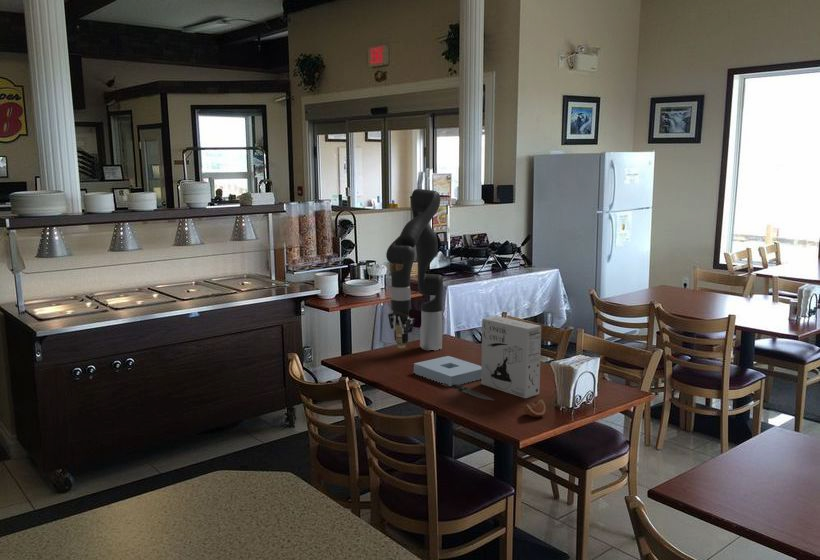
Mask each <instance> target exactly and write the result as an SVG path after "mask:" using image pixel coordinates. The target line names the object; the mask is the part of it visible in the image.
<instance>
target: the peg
mask: <svg viewBox="0 0 820 560" xmlns="http://www.w3.org/2000/svg"><path fill="white" fill-rule="evenodd" d="M404 325H406V324H404ZM404 325H403V326H404ZM405 329H406V327H405V328H404V330H405ZM395 343H396V348H397V349H399V350H400V349H403V350H404V349H405V348H406V343H402V329H401V328H400V324H396V341H395Z"/></svg>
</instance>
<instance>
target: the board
mask: <svg viewBox="0 0 820 560" xmlns="http://www.w3.org/2000/svg"><path fill="white" fill-rule="evenodd" d="M414 373H415V375H417V376H420V377H422V376H423V378H425V377H426V378H425V379H428V380H430V379H431V380H430V381H433V380H434V381H433V382H436V381H437V383H439V382H440V383H439V384H441V383H443V384H444V383H445V384H447V385H449V386H452V385H455V384H457V385H460V384H461V385H464V383H465V384H468V382H469V383H473V382H476V380H477V381H481V380H480V379H481V365H478V364H476V363H472V362H469V361H466V360H464V359H460V358H456V357H453V356H449V355H446V356H441V357H437V358H433V359H428V360H424V361H419V362H414V363H413V374H414ZM472 381H473V382H472ZM443 384H442V385H443ZM461 385H460V386H461ZM449 386H448V387H449Z"/></svg>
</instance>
